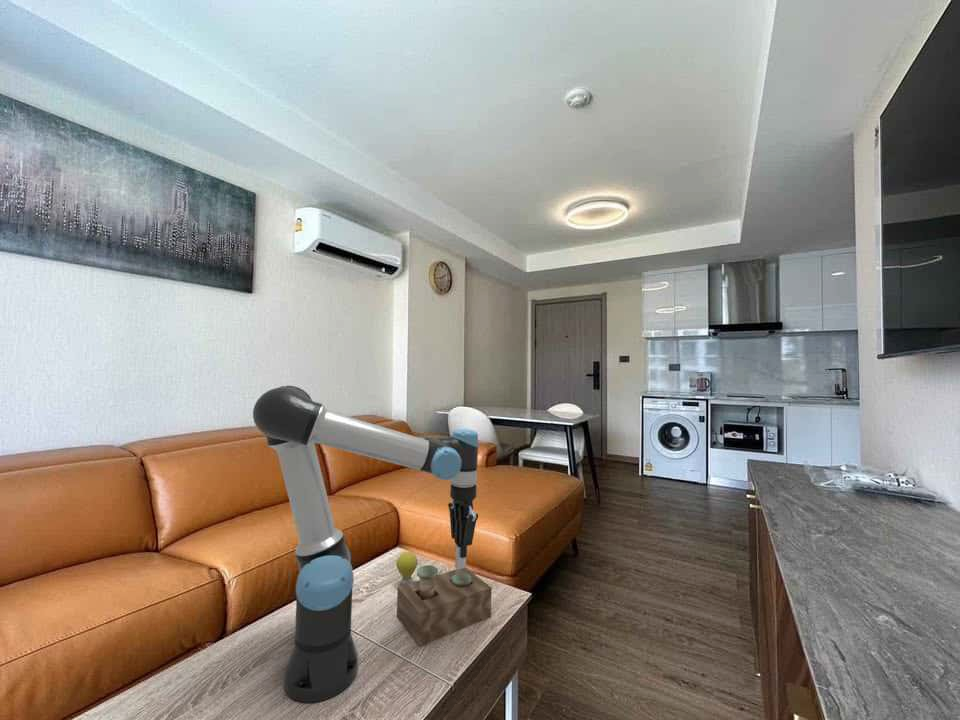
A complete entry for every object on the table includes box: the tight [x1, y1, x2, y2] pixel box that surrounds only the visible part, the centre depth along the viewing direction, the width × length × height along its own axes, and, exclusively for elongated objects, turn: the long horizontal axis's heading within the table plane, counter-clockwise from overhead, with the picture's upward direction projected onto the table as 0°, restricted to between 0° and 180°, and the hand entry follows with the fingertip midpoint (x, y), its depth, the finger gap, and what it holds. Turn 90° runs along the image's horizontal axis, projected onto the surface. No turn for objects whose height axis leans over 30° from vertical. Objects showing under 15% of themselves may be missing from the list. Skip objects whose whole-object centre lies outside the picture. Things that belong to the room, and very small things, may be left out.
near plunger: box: [416, 564, 439, 600], centre depth 106 cm, size 6×6×8 cm
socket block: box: [396, 566, 492, 647], centre depth 109 cm, size 22×14×8 cm, turn 124°
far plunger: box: [452, 573, 471, 588], centre depth 112 cm, size 6×6×8 cm
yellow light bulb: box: [395, 551, 419, 586], centre depth 125 cm, size 7×7×10 cm
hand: (460, 567), depth 112 cm, fingers closed
